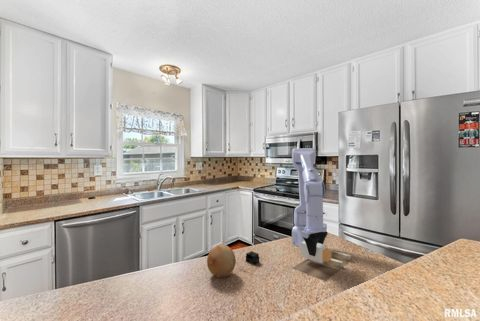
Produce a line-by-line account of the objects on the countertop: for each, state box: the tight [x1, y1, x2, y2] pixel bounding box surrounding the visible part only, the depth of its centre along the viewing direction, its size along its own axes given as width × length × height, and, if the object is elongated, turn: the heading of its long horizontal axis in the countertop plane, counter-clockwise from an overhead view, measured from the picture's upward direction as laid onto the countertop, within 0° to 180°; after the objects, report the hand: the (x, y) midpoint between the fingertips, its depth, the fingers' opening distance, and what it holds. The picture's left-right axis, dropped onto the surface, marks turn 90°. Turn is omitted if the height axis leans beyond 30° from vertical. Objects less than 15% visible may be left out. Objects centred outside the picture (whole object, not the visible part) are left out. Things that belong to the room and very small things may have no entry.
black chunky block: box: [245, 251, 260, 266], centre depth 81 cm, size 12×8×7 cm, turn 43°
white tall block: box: [300, 241, 332, 263], centre depth 78 cm, size 10×4×5 cm, turn 44°
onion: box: [206, 243, 237, 278], centre depth 74 cm, size 10×10×10 cm
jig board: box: [292, 249, 353, 282], centre depth 79 cm, size 12×22×3 cm, turn 134°
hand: (315, 253), depth 78 cm, fingers closed on white tall block, 4 cm apart
